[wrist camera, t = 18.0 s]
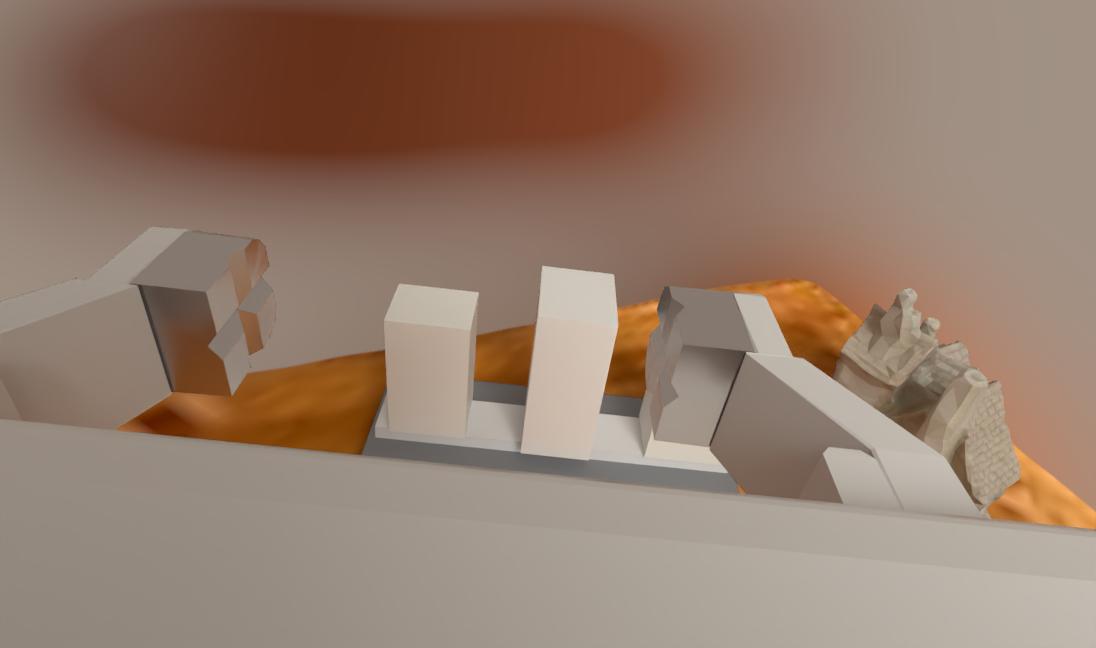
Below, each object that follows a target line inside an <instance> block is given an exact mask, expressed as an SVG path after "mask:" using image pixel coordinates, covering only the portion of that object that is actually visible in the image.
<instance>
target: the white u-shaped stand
mask: <svg viewBox="0 0 1096 648" xmlns="http://www.w3.org/2000/svg"><path fill="white" fill-rule="evenodd" d="M478 297H479V293H478V292H470V291H461V290H452V289H442V288H434V287H425V286H416V285H407V284H399V285H398V288H397V290H396V292H395V295H394V297H393V300H392V302H391V304H390V307H389V309H388V311H387V314H386V316H385V319H384V338H385V358H386V378H387V386H386V388H385V391H384V394H383V397H382V399H381V402H380V405H379V408H378V410H377V413H376V416H375V419H374V421H373V424H372V427H371V430H370V433H369V435H368V438H367V441H366V444H365V446H364V449H363V452H362V455H365V456H375V457H385V458H395V459H405V460H414V461H424V462H434V463H444V464H454V465H464V466H474V467H484V468H493V469H503V470H513V471H523V472H533V473H543V474H553V475H563V476H573V477H583V478H593V479H603V480H612V481H622V482H632V483H642V484H652V485H662V486H672V487H682V488H692V489H702V490H712V491H721V492H731V493H739V489H738V485H737V482H736V481H735V480H734V479H733V478H732V476H731V475H730V474H729V473H728V472H727V470H726V469H725V468H724V467H723V466H722V464H721V463H720V462H719V461H718V460H717V458H716V457H715V456H714V455H713V454H712V453H711V451H710V450H709V449H710V447H702V446H694V445H687V444H679V443H671V442H664V441H656V440H654V435H653V429H652V422H651V416H650V406H651V402H652V398H653V395H652V394H651V393H650V392H649V391H648V390H647V388H646V391H645V395H644V398H634V397H625V396H615V395H606V394H603V398H602V402H601V407H600V412H599V416H598V421H597V425H596V430H595V434H594V439H593V443H592V448H591V452H590V457H589V460H579V459H570V458H561V457H552V456H542V455H533V454H524V453H521V444H522V434H523V424H524V414H525V404H526V394H527V386H521V385H512V384H502V383H493V382H484V381H474V367H475V350H476V332H477V314H478Z"/></svg>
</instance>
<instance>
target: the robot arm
mask: <svg viewBox="0 0 1096 648" xmlns="http://www.w3.org/2000/svg"><path fill="white" fill-rule="evenodd" d="M268 267H269V261H268V256H267V251H266V247H265V245H264V244H263V243H262V242H261V241H260V240H259V239H254V238H247V237H239V236H232V235H224V234H217V233H209V232H202V231H191V230H189V229H180V228H169V227H150V228H149V229H148V230H146V231H145V232H144V233H143V234H141V235H140V236H139V237H138V238H137V239H135V240H134V241H133V242H132V243H131V244H129V245H128V246H127V247H126V248H125V249H123V250H122V251H121V252H120V253H118V254H117V255H116V256H115V257H114V258H112V259H111V260H110V261H109V262H108V263H106V264H105V265H104V266H103V267H102V268H100V269H99V270H98V271H97V272H95V273H94V274H93V275H92V276H91V277H89V278H88V279H87V280H86V279H76V278H75V279H72V280H69V281H65V282H62V283H59V284H55V285H52V286H49V287H46V288H42V289H39V290H36V291H33V292H29V293H26V294H23V295H20V296H16V297H13V298H10V299H6V300H3V301H0V648H1096V529H1087V528H1077V527H1067V526H1057V525H1047V524H1037V523H1027V522H1018V521H1008V520H998V519H988V518H983V517H982V515H981V514H980V512H979V510H978V509H977V507H976V506H975V504H974V503H973V501H972V499H971V498H970V496H969V495H968V493H967V492H966V490H965V488H964V487H963V485H962V484H961V482H960V480H959V479H958V477H957V476H956V474H955V473H954V471H953V469H952V468H951V466H950V465H949V463H948V461H947V460H946V458H945V457H944V456H942V455H941V454H939V453H938V452H936V451H935V450H934V449H932V448H931V447H929V446H928V445H926V444H925V443H924V442H922V441H921V440H919V439H918V438H916V437H915V436H914V435H912V434H911V433H909V432H908V431H906V430H905V429H904V428H902V427H901V426H899V425H898V424H896V423H895V422H894V421H892V420H891V419H889V418H888V417H886V416H885V415H884V414H882V413H881V412H879V411H878V410H876V409H875V408H874V407H872V406H871V405H869V404H868V403H866V402H865V401H864V400H862V399H861V398H859V397H858V396H856V395H855V394H853V393H852V392H851V391H849V390H848V389H846V388H845V387H843V386H842V385H841V384H839V383H838V382H836V381H835V380H833V379H832V378H831V377H829V376H828V375H826V374H825V373H823V372H822V371H821V370H819V369H818V368H816V367H815V366H813V365H812V364H811V363H809V362H808V361H806V360H805V359H803V358H796V357H793V355H792V353H791V351H790V349H789V347H788V345H787V342H786V340H785V338H784V336H783V334H782V332H781V330H780V327H779V325H778V323H777V321H776V319H775V317H774V315H773V312H772V310H771V308H770V306H769V304H768V302H767V300H766V298H765V297H764V296H763V295H761V294H753V293H739V292H728V291H717V290H706V289H694V288H683V287H672V286H665V287H664V289H663V291H662V294H661V297H660V300H659V304H658V307H657V311H658V317H659V323H660V325H659V326H658V327H657V328H656V329H654V330H653V331H652V332H651V335H650V339H649V343H648V348H647V354H646V363H645V379H646V387H647V390H648V391H649V392H650V393H651V394H652V395H653V398H652V402H651V406H650V416H651V422H652V429H653V435H654V440H656V441H664V442H671V443H679V444H687V445H694V446H702V447H710V449H709V450H710V451H711V453H712V454H713V455H714V456H715V457H716V458H717V460H718V461H719V462H720V463H721V464H722V466H723V467H724V468H725V469H726V470H727V472H728V473H729V474H730V475H731V476H732V478H733V479H734V480H735V481H736V482H737V484H738V485H739V486H740V487H741V488H742V489H743V491H744V492H745V493H746V494H741V493H731V492H721V491H712V490H702V489H692V488H682V487H672V486H662V485H652V484H642V483H632V482H622V481H612V480H603V479H593V478H583V477H573V476H563V475H553V474H543V473H533V472H523V471H513V470H503V469H493V468H484V467H474V466H464V465H454V464H444V463H434V462H424V461H414V460H405V459H395V458H385V457H375V456H365V455H355V454H345V453H336V452H326V451H316V450H306V449H296V448H286V447H276V446H266V445H257V444H247V443H237V442H227V441H217V440H207V439H197V438H188V437H178V436H168V435H158V434H148V433H138V432H128V431H119V430H115V429H117V428H119V427H120V426H122V425H123V424H125V423H127V422H128V421H130V420H132V419H133V418H135V417H136V416H138V415H140V414H141V413H143V412H144V411H146V410H148V409H149V408H151V407H153V406H154V405H156V404H157V403H159V402H161V401H162V400H164V399H165V398H167V397H169V396H170V395H172V392H182V393H195V394H208V395H221V396H232V395H233V394H234V392H235V391H236V389H237V388H238V386H239V385H240V383H241V382H242V380H243V379H244V377H245V376H246V374H247V373H248V371H249V370H250V368H251V363H250V358H249V355H251V354H253V353H255V352H257V351H259V350H261V349H263V348H264V346H265V345H266V343H267V342H268V340H269V338H270V337H271V334H272V330H273V326H274V323H275V318H276V317H275V316H276V315H275V314H276V302H275V296H274V290H273V289H272V288H271V287H270V286H269V285H268V284H267V282H266V281H265V280H264V279H263V278H262V275H263V274H264V272H265V271H266V270H267V268H268Z"/></svg>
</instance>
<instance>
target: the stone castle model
mask: <svg viewBox="0 0 1096 648" xmlns="http://www.w3.org/2000/svg"><path fill="white" fill-rule="evenodd" d="M916 299H917V293H916V292H914V291H913V290H912V289H911V288H905V289H904V290H902V291H901V292H899V293H898V295H897V297H896V299H895V301H894V304H893V305H892V307H891V308H890V309H889V311H888V312H885V311H884V310H883V309H882V308H881V307H880V306H879V305H877V304H875V305H874V306H873V308H872V310H871V312H870V314H869V315H868V317H867V318H866V320H865V321H864V322H863V324H862V325H861V326H860V328H859V329H858V330H857V331H856V332H855V333H854V334H853V335H852V336H851V337H850V338H849V339H848V341H847V342H846V343H845V345H844V347H843V349H842V350H841V351H840V356H841V358H839V359H838V360H837V361H836V362H835V364H836V368H835V372H834V374H833V376H832V379H833V380H835V381H836V382H838V383H839V384H841V385H842V386H843V387H845V388H846V389H848V390H849V391H851V392H852V393H853V394H855V395H856V396H858V397H859V398H861V399H862V400H864V401H865V402H866V403H868V404H869V405H871V406H872V407H874V408H875V409H876V410H878V411H879V412H881V413H882V414H884V415H885V416H886V417H888V418H889V419H891V420H892V421H894V422H895V423H896V424H898V425H899V426H901V427H902V428H904V429H905V430H906V431H908V432H909V433H911V434H912V435H914V436H915V437H916V438H918V439H919V440H921V441H922V442H924V443H925V444H926V445H928V446H929V447H931V448H932V449H934V450H935V451H936V452H938V453H939V454H941V455H942V456H944V457H945V458H946V460H947V461H948V463H949V465H950V466H951V468H952V469H953V471H954V473H955V474H956V476H957V477H958V479H959V480H960V482H961V484H962V485H963V487H964V488H965V490H966V492H967V493H968V495H969V496H970V498H971V499H972V501H973V503H974V504H975V506H976V507H977V509H978V510H979V512H980V514H981V515H982V517H983V518H988V519H991V517H990V515H989V513H988V511H987V508H988V506H989V505H990V504H991V503H993V502H994V501H995V500H997V499H999V498H1000V497H1001V496H1002V495H1003V494H1004V493H1005V490H1004V489H1006V488H1007V487H1009V486H1010V485H1012V484H1013V483H1015V482H1016V481H1017V480H1019V479H1020V471H1021V469H1020V465H1019V459H1018V458H1017V456H1016V453H1015V451H1014V448H1013V446H1012V443H1011V438H1010V432H1009V429H1008V427H1007V425H1006V423H1005V421H1004V417H1005V414H1006V412H1005V410H1004V408H1003V402H1004V397H1003V395H1002V394H1001V388H1002V385H1001V384H1000V382H999V381H992V382H990V383H988V380H987V379H986V377H985V376H984V375H983V374H982V373H980V372H979V371H980V370H979V369H978V368H975V367H972V366H970V363H969V358H968V354H969V352H968V351H967V349H966V348H965V345H964V344H963V343H962V342H961V341H956V342H955V343H954V344H948V345H945V344H942V345H939V344H938V343H937V342H938V340H937V339H935V338H934V337H935V334H936V331H937V330H938V329H939V328H940V322H939V321H938V320H936V319H933V318H931V317H930V318H927V319H925V320H924V321H923V323H922V325H921V327H920V321H921V313H920V312H918V311H916V310H914V309H913V304H914V302H915V301H916Z"/></svg>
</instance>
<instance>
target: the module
mask: <svg viewBox="0 0 1096 648" xmlns="http://www.w3.org/2000/svg"><path fill="white" fill-rule="evenodd" d="M617 330H618V316H617V304H616V293H615V282H614V275H613V274H606V273H597V272H589V271H580V270H572V269H562V268H555V267H546V266H542V274H541V282H540V290H539V298H538V306H537V314H536V322H535V330H534V338H533V346H532V354H531V362H530V370H529V378H528V386H527V394H526V404H525V414H524V424H523V434H522V444H521V453H524V454H533V455H542V456H552V457H561V458H570V459H579V460H589V457H590V452H591V448H592V443H593V439H594V434H595V430H596V425H597V421H598V416H599V412H600V407H601V402H602V398H603V393H604V389H605V384H606V380H607V375H608V371H609V366H610V362H611V357H612V352H613V348H614V343H615V339H616V334H617Z"/></svg>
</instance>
